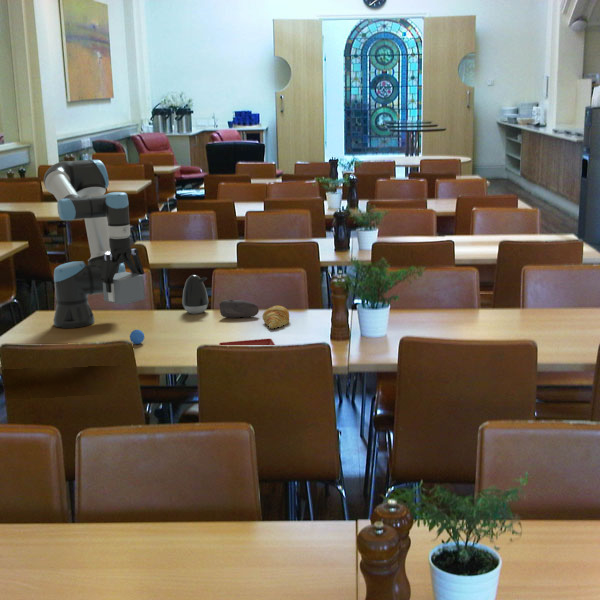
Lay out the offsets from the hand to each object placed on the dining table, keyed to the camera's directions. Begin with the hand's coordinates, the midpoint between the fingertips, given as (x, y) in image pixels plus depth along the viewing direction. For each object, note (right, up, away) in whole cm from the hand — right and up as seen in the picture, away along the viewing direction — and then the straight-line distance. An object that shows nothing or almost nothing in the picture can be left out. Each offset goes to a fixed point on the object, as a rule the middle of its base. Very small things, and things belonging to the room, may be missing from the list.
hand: (124, 297), depth 311 cm
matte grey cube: (0, -1, 0) cm, 1 cm away
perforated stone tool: (+40, -8, +25) cm, 47 cm away
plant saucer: (+46, -20, -25) cm, 56 cm away
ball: (+6, -14, -7) cm, 17 cm away
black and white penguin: (+22, -6, +35) cm, 41 cm away
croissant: (+54, -10, +15) cm, 57 cm away
